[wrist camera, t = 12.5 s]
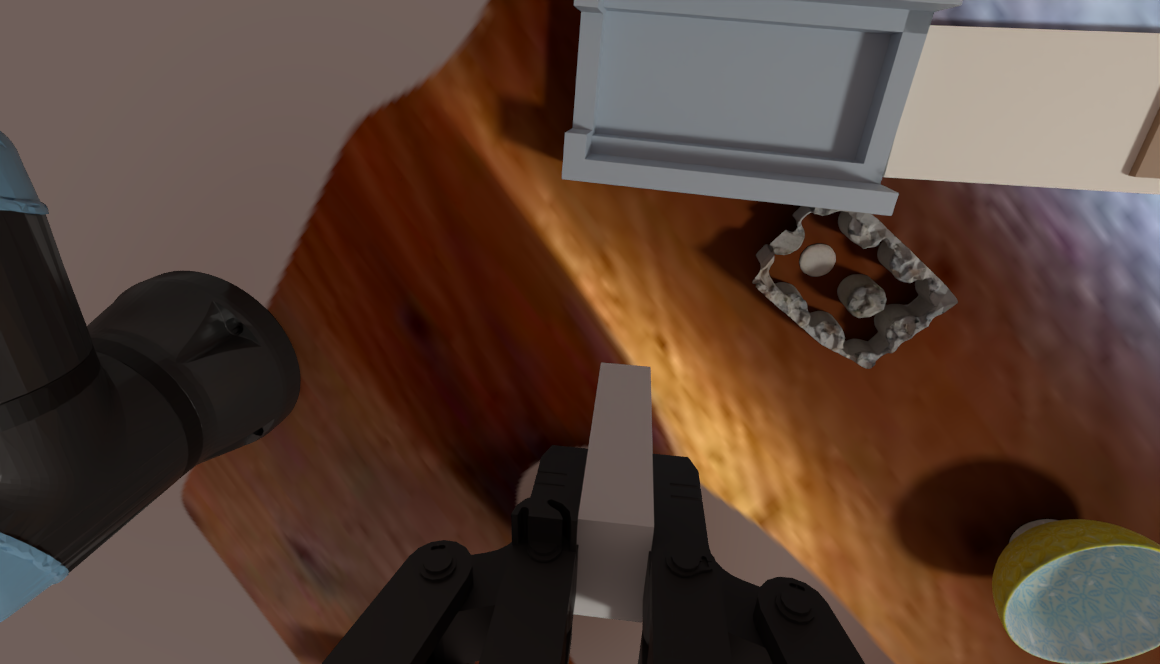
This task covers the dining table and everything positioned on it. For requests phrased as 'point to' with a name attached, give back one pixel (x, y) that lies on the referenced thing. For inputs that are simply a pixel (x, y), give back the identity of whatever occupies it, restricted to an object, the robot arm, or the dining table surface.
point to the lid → (1033, 110)
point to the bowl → (1079, 591)
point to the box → (746, 97)
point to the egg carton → (856, 287)
